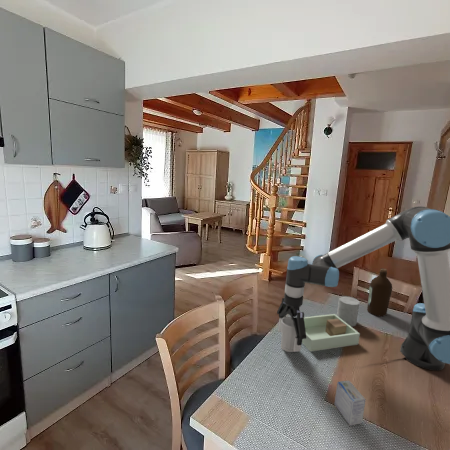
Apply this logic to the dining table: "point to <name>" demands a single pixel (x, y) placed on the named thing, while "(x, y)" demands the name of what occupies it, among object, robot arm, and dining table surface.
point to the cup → (287, 334)
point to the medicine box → (349, 402)
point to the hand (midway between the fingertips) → (288, 340)
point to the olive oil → (379, 294)
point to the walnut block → (335, 327)
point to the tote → (321, 339)
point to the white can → (348, 309)
